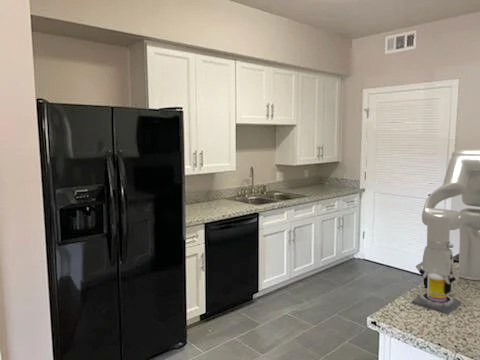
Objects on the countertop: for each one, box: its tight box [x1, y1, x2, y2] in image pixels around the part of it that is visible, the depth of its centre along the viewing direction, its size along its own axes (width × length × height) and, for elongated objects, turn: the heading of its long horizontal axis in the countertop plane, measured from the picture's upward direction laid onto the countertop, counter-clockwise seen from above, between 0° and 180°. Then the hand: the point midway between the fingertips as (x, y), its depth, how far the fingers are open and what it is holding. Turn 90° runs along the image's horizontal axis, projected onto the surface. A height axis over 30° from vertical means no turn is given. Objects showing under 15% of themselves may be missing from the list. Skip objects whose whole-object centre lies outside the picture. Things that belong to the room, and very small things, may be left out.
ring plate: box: [411, 291, 462, 315], centre depth 141 cm, size 13×13×2 cm
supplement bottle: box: [426, 269, 448, 302], centre depth 141 cm, size 7×7×13 cm
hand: (436, 289), depth 141 cm, fingers closed on supplement bottle, 6 cm apart
